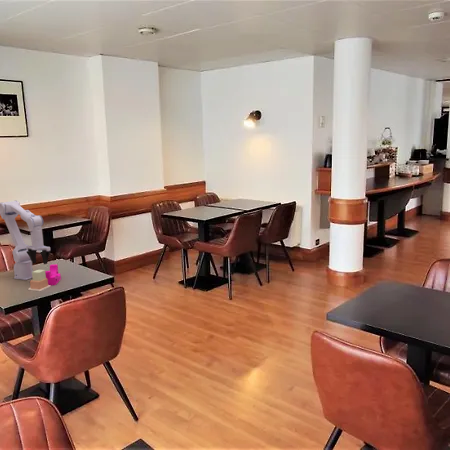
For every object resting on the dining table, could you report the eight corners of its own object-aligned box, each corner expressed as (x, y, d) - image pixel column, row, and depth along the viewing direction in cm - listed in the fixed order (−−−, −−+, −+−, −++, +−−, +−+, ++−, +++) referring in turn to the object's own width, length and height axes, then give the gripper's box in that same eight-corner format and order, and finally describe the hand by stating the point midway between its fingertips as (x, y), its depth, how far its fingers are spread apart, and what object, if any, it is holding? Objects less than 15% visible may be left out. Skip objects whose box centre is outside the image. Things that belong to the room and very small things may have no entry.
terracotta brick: (30, 288, 235) (29, 280, 234) (39, 284, 241) (38, 277, 240) (39, 289, 233) (39, 282, 232) (48, 285, 239) (47, 278, 238)
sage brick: (38, 277, 239) (37, 269, 238) (45, 278, 238) (45, 270, 237) (32, 280, 235) (31, 272, 234) (40, 281, 234) (39, 272, 233)
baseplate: (27, 289, 235) (27, 288, 235) (39, 285, 242) (38, 284, 242) (40, 291, 232) (40, 290, 232) (51, 286, 239) (51, 285, 239)
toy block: (55, 285, 242) (54, 271, 240) (43, 286, 241) (42, 272, 240) (63, 277, 256) (62, 264, 255) (52, 277, 256) (50, 264, 254)
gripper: (20, 239, 242) (23, 264, 244) (42, 240, 237) (45, 266, 239) (30, 237, 248) (33, 261, 251) (52, 238, 243) (54, 262, 246)
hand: (39, 263), depth 245 cm, fingers open, 7 cm apart
